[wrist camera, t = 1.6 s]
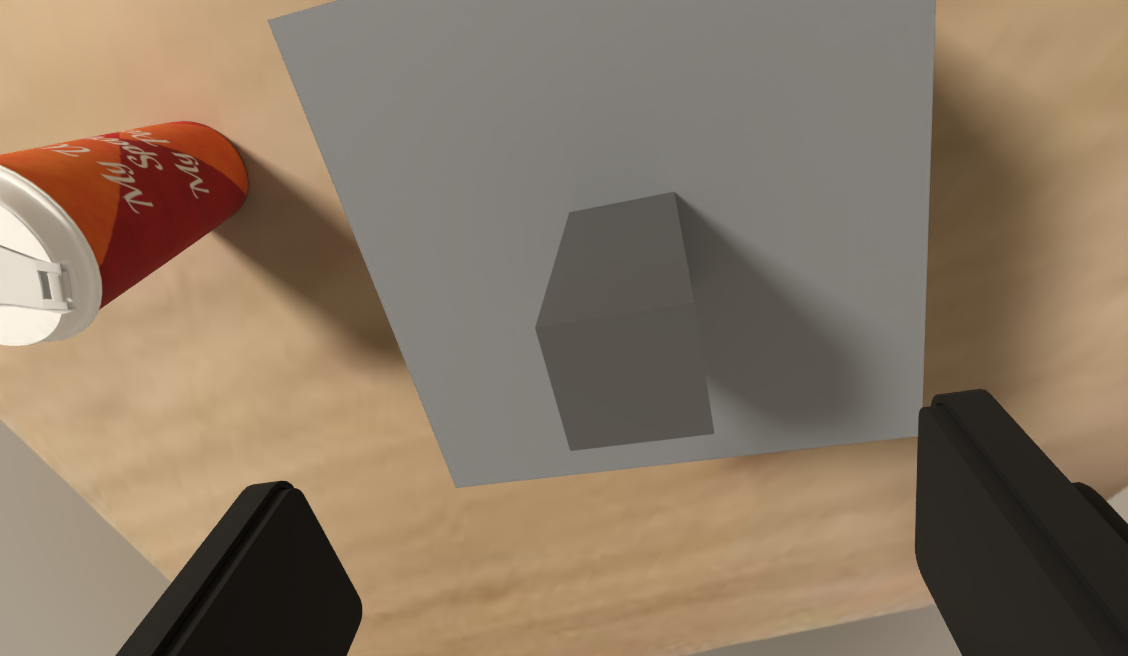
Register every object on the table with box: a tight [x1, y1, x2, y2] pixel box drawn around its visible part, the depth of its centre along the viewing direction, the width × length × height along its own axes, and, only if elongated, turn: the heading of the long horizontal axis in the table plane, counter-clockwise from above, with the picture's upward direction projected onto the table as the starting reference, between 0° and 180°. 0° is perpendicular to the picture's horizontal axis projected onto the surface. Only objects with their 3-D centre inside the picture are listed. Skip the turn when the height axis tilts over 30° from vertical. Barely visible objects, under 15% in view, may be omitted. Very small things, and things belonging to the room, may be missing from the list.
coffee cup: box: [0, 121, 248, 346], centre depth 32 cm, size 8×8×15 cm
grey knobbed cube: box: [268, 0, 936, 488], centre depth 23 cm, size 16×16×25 cm
